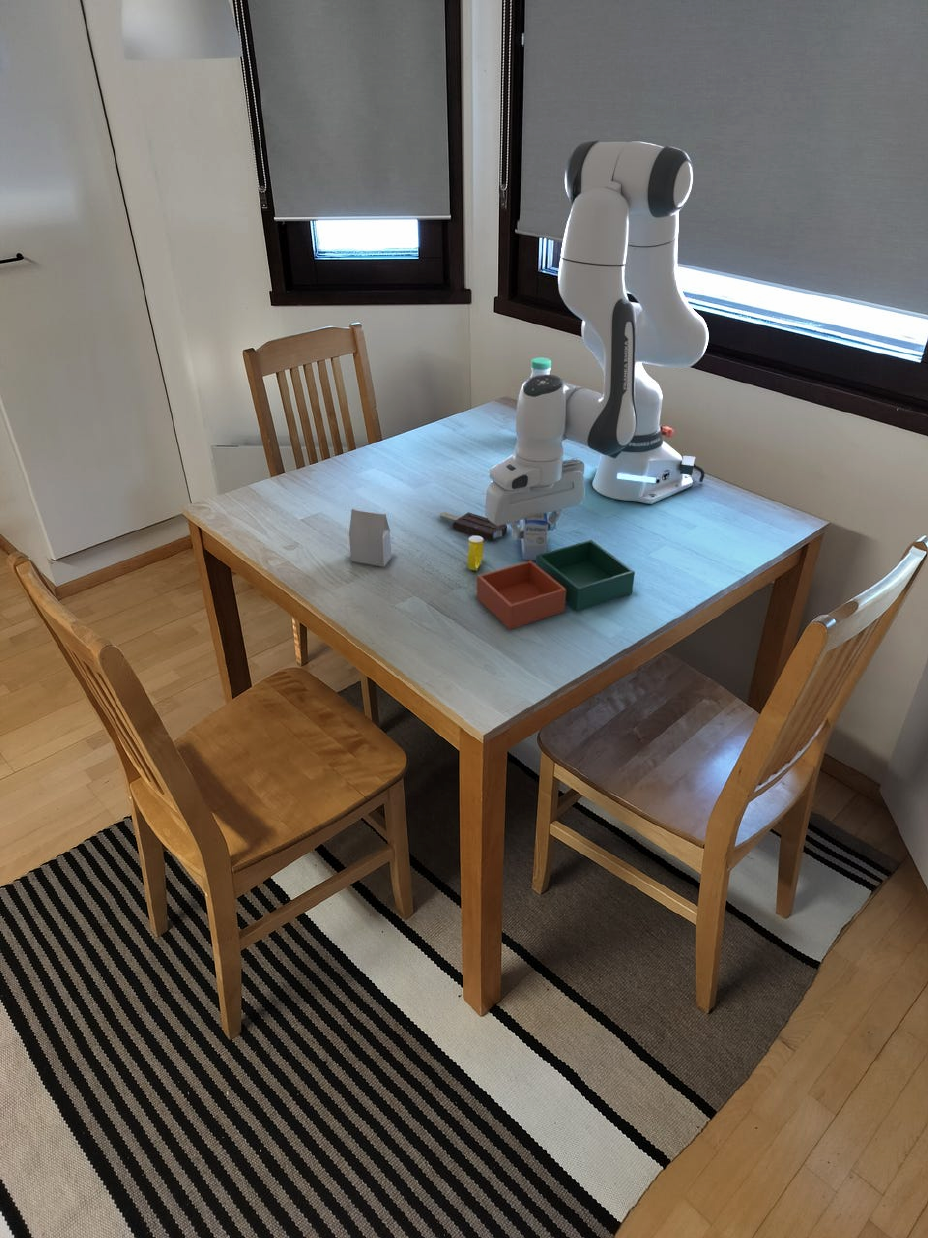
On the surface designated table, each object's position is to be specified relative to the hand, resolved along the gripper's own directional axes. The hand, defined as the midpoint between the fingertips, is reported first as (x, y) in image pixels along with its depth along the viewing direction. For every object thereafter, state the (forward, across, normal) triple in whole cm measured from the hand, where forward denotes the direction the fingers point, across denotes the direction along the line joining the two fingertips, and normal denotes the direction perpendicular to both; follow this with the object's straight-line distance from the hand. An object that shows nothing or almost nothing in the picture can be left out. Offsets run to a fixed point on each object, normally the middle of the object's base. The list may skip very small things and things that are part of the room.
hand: (534, 533), depth 167 cm
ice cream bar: (+4, +6, -14) cm, 16 cm away
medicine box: (+4, 0, 0) cm, 4 cm away
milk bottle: (+4, -30, -45) cm, 54 cm away
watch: (+4, +13, 0) cm, 13 cm away
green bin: (+4, -1, +15) cm, 15 cm away
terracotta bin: (+4, +12, +15) cm, 20 cm away
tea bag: (+4, +29, -12) cm, 32 cm away
